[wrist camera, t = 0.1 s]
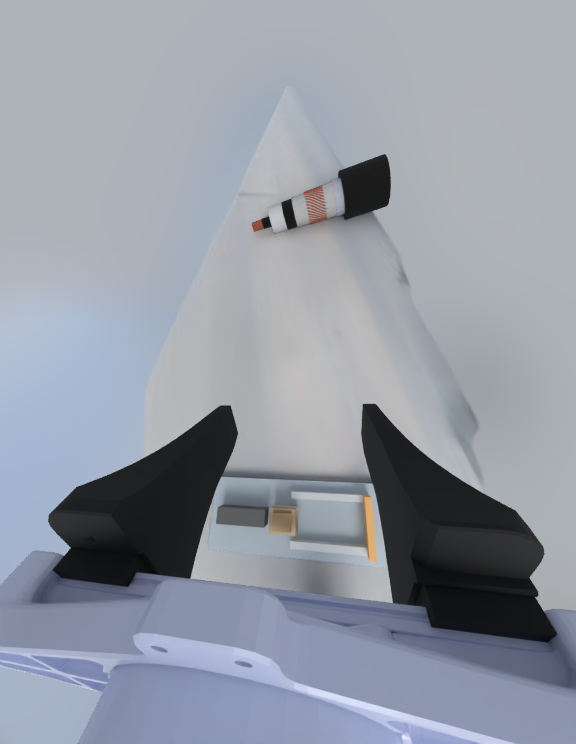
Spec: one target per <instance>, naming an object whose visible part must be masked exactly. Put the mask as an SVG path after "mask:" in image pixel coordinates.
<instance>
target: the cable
mask: <svg viewBox="0 0 576 744" xmlns="http://www.w3.org/2000/svg"><path fill="white" fill-rule="evenodd" d="M390 179H391V177H390V167H389V162H388V158H387V156H386V155H385V154H384V155H381V156H378V157H375V158H373V159H370V160H367V161H365V162H362V163H359V164H357V165H354V166H351V167H348V168H346V169H343V170H340V171H339V173H338V179H335V180H333V181H331V182H329V183H327V184H324V185H322V186H319V187H316V188H314V189H311V190H308V191H305V192H304V193H303V194H301V195H298V196H296V197H292V198H291V199H289V200H287V201H284V202H281V203H280V204H277V205H274V206H271V207H269V208H268V213H269V217H266V218H263V219H261V220H259V221H256V222H253V223H252V226H253V230H254V231H255V232H256V231H258V230H261V229H263V228H264V229H265V228H268V227H271V226H272V228H273V231H274V233H278V232H281V231H284V230H287V229H288V230H289V229H292V228H295V227H300V226H303V225H306V224H309V223H310V224H312V223H315V222H318V221H321V220H324V219H328V218H331V217H334V216H339V215H342V214H343V215H344V219H345V220H346V219H349V218H352V217H355V216H358V215H361V214H364V213H368V212H371V211H374V210H377V209H380V208H383V207H386V206H387V205H388V203H389V198H390V189H391V180H390Z"/></svg>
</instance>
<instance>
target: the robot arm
mask: <svg viewBox="0 0 576 744" xmlns="http://www.w3.org/2000/svg"><path fill="white" fill-rule="evenodd" d="M237 435H238V431H237V427H236V424H235V420H234V416H233V413H232V409H231V406H219V407H218V408H216V409H215V410H214V411H212V412H211V413H210V414H209V415H207V416H206V417H205V418H203V419H202V420H201V421H200V422H198V423H197V424H196V425H194V426H193V427H192V428H190V429H189V430H188V431H186V432H185V433H183V434H182V435H181V436H179V437H178V438H176V439H175V440H174V441H172V442H170V443H169V444H167V445H166V446H164V447H162V448H161V449H159V450H158V451H156V452H154V453H152V454H150V455H149V456H147V457H145V458H143V459H141V460H139V461H137V462H136V463H133V464H132V465H129V466H127V467H125V468H123V469H121V470H118V471H116V472H114V473H112V474H109V475H107V476H105V477H102V478H99V479H97V480H94V481H92V482H89V483H86V484H84V485H81V486H78V487H76V489H74V490H73V491H72V492H71V493H70V494H69V495H68V496H67V497H66V498H65V499H64V500H63V501H62V502H61V503H60V504H59V505H58V506H57V507H56V508H55V509H54V510H53V511H52V512H51V513H50V514H49V519H48V522H49V524H50V526H51V527H52V529H53V530H54V531H55V532H56V533H57V534H58V535H59V536H60V537H61V538H62V539H63V540H64V541H65V542H66V543H67V544H68V545H69V546H70V547H71V549H70V550H69V551H68V552H67V554H66V555H65V556H63V555H61V554H59V553H54V552H45V551H32V552H31V553H30V555H28V557H26V559H25V560H24V561H23V562H22V563H21V564H20V565H19V566H18V567H17V568H16V569H15V570H14V571H13V572H12V573H11V574H10V575H9V576H8V578H7V579H6V580H5V581H4V582H3V583H2V584H1V585H0V666H1V667H5V668H10V669H14V670H18V671H22V672H26V673H31V674H34V675H39V676H43V677H47V678H50V679H54V680H58V681H62V682H66V683H69V684H73V685H76V686H80V687H84V688H87V689H91V690H95V691H98V692H102V695H101V697H100V699H99V701H98V703H97V705H96V707H95V709H94V711H93V713H92V715H91V717H90V719H89V721H88V723H87V725H86V728H85V729H84V731H83V734H82V736H81V738H80V740H79V742H78V744H576V611H572V610H563V609H551V610H546V611H543V610H542V608H541V606H540V605H539V603H538V601H537V600H536V598H535V597H537V596H538V591H537V590H536V588H535V586H534V585H533V583H532V581H531V580H530V578H529V577H530V576H531V574H532V573H533V572H534V571H535V569H536V568H537V567H538V565H539V564H540V563H541V561H542V559H543V556H544V548H543V546H542V545H541V543H540V542H539V541H538V539H537V538H536V536H535V535H534V534H533V532H532V531H531V529H530V528H529V527H528V525H527V524H526V523H525V522H524V520H522V518H521V517H520V516H519V514H518V513H517V512H516V511H515V510H513V509H511V508H509V507H508V506H506V505H504V504H502V503H500V502H498V501H496V500H494V499H493V498H491V497H489V496H487V495H485V494H483V493H482V492H480V491H478V490H476V489H475V488H473V487H471V486H470V485H468V484H466V483H465V482H463V481H462V480H460V479H459V478H457V477H455V476H454V475H452V474H451V473H449V472H448V471H447V470H445V469H444V468H442V467H441V466H439V465H438V464H437V463H435V462H434V461H433V460H431V459H430V458H429V457H427V456H426V455H425V454H424V453H423V452H421V451H420V450H419V449H418V448H417V447H415V446H414V445H413V444H412V443H411V442H410V441H409V440H408V439H407V438H406V437H405V436H404V435H403V434H402V433H401V432H400V431H399V430H398V429H397V428H396V427H395V426H394V425H393V424H392V423H391V422H390V420H389V419H388V418H387V417H386V416H385V415H384V413H383V412H382V411H381V410H380V409H379V407H378V406H377V405H376V404H363V411H362V431H361V435H362V442H363V449H364V454H365V458H366V462H367V465H368V469H369V473H370V476H371V480H372V484H373V487H374V491H375V495H376V499H377V504H378V509H379V515H380V521H381V527H382V533H383V539H384V545H385V551H386V558H387V565H388V571H389V578H390V585H391V592H392V599H393V603H387V602H378V601H370V600H362V599H354V598H345V597H337V596H329V595H320V594H312V593H304V592H295V591H287V590H279V589H270V588H262V587H254V586H246V585H237V584H229V583H221V582H212V581H204V580H196V579H190V577H191V573H192V569H193V565H194V561H195V557H196V553H197V549H198V545H199V542H200V538H201V534H202V531H203V527H204V524H205V521H206V518H207V514H208V511H209V508H210V505H211V502H212V499H213V496H214V493H215V491H216V488H217V486H218V483H219V481H220V479H221V477H222V474H223V472H224V470H225V468H226V465H227V463H228V461H229V459H230V456H231V454H232V452H233V449H234V446H235V443H236V439H237Z"/></svg>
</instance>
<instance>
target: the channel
mask: <svg viewBox="0 0 576 744" xmlns="http://www.w3.org/2000/svg"><path fill="white" fill-rule="evenodd" d="M224 504H225V505H240V506H256V507H269V512H268V524H267V525H266V526H265V527H264V528H260V527H248V526H236V525H223V524H216V518H217V510H218V507H219V506H221V505H224ZM273 505H288V506H298V531H297V533H296V535H295V536H289V535H277V534H269V517H270V507H272V506H273ZM208 550H215V551H225V552H235V553H244V554H254V555H264V556H274V557H284V558H294V559H304V560H313V561H323V562H333V563H343V564H353V565H363V566H373V567H382V568H387V564H386V554H385V545H384V539H383V533H382V527H381V521H380V515H379V509H378V504H377V499H376V495H375V491H374V487H373V484H372V483H357V482H334V481H311V480H288V479H265V478H242V477H221V479H220V481H219V483H218V486H217V488H216V491H215V494H214V502H213V510H212V518H211V526H210V535H209V543H208Z"/></svg>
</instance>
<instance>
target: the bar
mask: <svg viewBox="0 0 576 744" xmlns="http://www.w3.org/2000/svg"><path fill="white" fill-rule="evenodd" d="M268 512H269V507H256V506H240V505H225V504H224V505H221V506H219V507H218V510H217V518H216V524H223V525H236V526H248V527H260V528H264V527H265V526H266V525H267V524H268Z"/></svg>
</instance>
